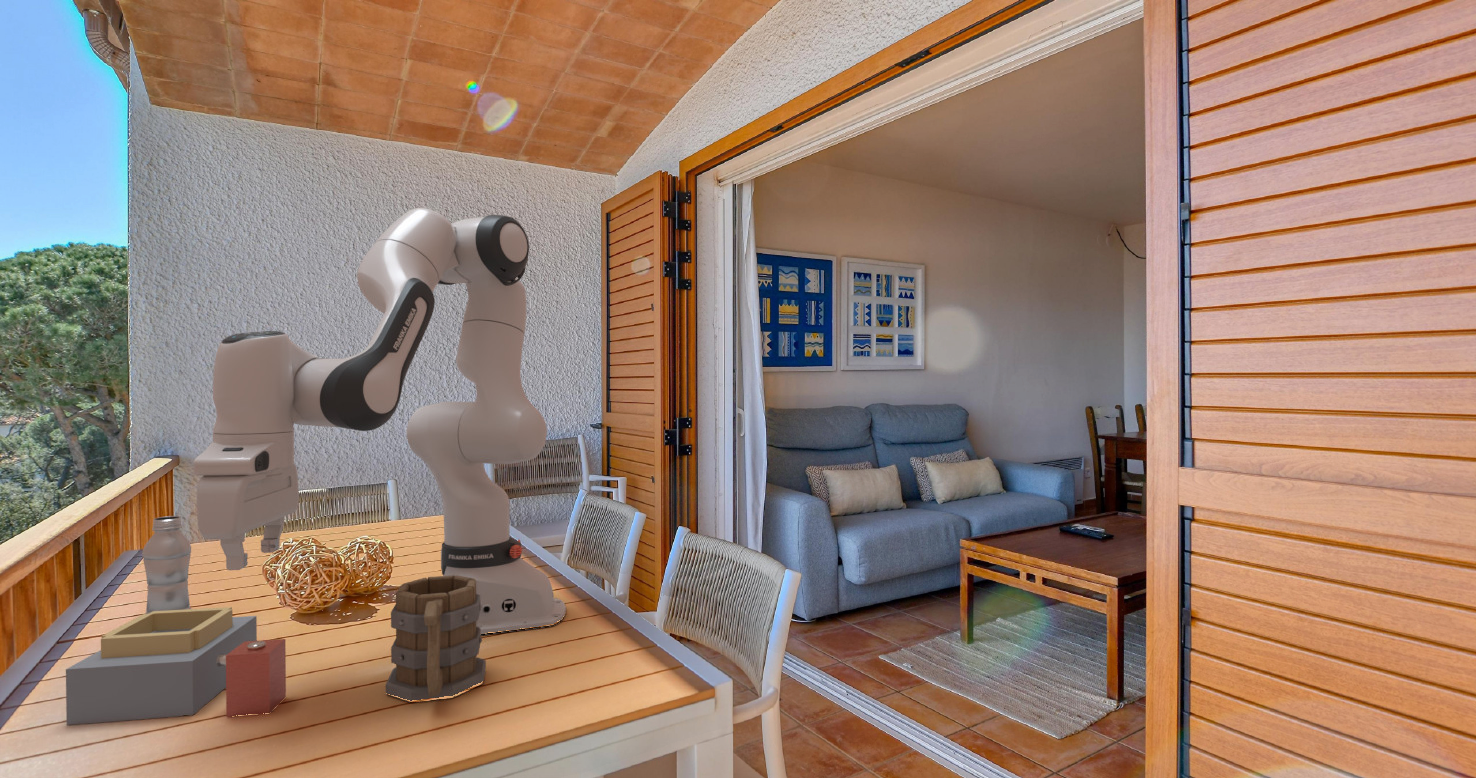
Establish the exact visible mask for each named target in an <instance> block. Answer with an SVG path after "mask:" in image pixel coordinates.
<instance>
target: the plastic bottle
mask: <svg viewBox="0 0 1476 778" xmlns="http://www.w3.org/2000/svg"><path fill="white" fill-rule="evenodd" d="M182 527H183V526H182V518H181V516H179V515H174V516H173V515H168V516H162V517H161V516H160V517H155V518H153V521H152V528H151V530H152V532H154V533H153V535H151V537H150V538H149V539H148V540H147V542H146V544H145V545H144V546H143V550H142V552H141V554H142V559H143V565H144V570H145V575H146V585H147V587H146V588H147V596H146V609H145V611H146V612H145V613H144V614H149V613H151V612H153V611H167V610H185V609H192V607H191V604H190V596H189V588H188V587H189V586H188V585H189V568H190V561H191V556H192V554H191V553H192V545H191V543H190V540H188V538H187V537H186V536H185V535H184V534H183V533H182V532H181V531H180V529H182Z"/></svg>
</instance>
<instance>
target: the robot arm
mask: <svg viewBox="0 0 1476 778" xmlns="http://www.w3.org/2000/svg"><path fill="white" fill-rule="evenodd" d="M529 253H530V243H529V238H528V236H527V233H526V231H525V230H524V227H522V225H521V224H520V222H519V221H518V220H516V218H514V217H511V216H507V215H502V214H489V215H486V216H480V217H479V216H478V217H470V218H468V217H467V218H464V219H460V220H457V221H453V222H450V221H449V220H448V219H447V218H446V216H444V215H442V214H441V213H440V212H438V211H436V210H433V209H431V208H426V207H416V208H412V209H410V210H408V211H406V212H405V213H404V214H402V215H401V216H399V218H398V219H396V220H395V221H394V222H392V223H391V225H389V226H388V227H387V228H386V230H384V231H383V233H382V234H381V235H380V236H379V237H378V238H377V240H376V241H374V244H373V245H372V246H371V247H370V248H369V250H368V251H367V252H366V253H365V255H364V257H363V258H362V260H361V261H360V264H359V267H358V269H357V273H356V278H357V283H358V287H359V289H360V292H361V293H362V295H363V296H364V297H365V299H366V301H368V302H369V303H370V304H371V305H372V306H373V307H374V308H376V309H377V310H378V311H379V312H381V313H382V314H383V316H382V317H381V319H380V322H379V323H378V326H377V327H376V329H375V331H374V333H373V336H372V338H371V339H370V341H369V343H368V345H367V347H366V348H364V349H363V350H362V351H360V352H358V353H357V354H354V355H351V356H348V357H343V358H339V357H338V358H334V357H333V358H324V357H323V358H322V357H319V356H318V355H316V354H313V353H311V352H309V351H306V350H305V349H303V348H302V347H300V346H298V345H297V344H296V343H294V341H292V340H291V339H290V338H289V336H288V334H287V333H285V332H283V331H278V330H263V331H251V332H250V331H249V332H241V333H233V334H231V335H228V336H227V337H225V338H224V339H222V340H221V342H219V345H218V347H217V351H216V354H215V358H214V367H213V381H212V382H213V383H212V384H213V385H212V400H213V403H214V406H215V410H216V420H215V424H214V426H213V429H212V430H213V431H212V442H211V443H210V444H209V445H208V447H207V448H206V449H205V450H203V452H201V453H200V454H199V455H197V457H195V458H194V460H193V466H192V467H193V474H194V476H197V477H199V476H200V477H201V476H202V477H201V478H200V479H199V480H198V483H197V487H196V518H197V527H198V531H199V533H200V535H201V537H202V538H203V540H220V546H221V549H222V551H223V554H224V556H225V558H226V559H225V562H226V563H225V566H226V567H225V568H226V570H228V571H240V570H242V569H244V568H246V567H247V566H248V563H249V562H248V559H249V558H248V555H249V554H248V552H245V547H244V543H243V542H245V541H246V540H245V538H246V537H245V536H246V535H245V534H246V533H250V532H251V531H253V530H256V529H258V528H260V527H263V526H264V530H263V538H262V539H260V552H261V553H262V554H267V553H270V554H271V553H274V552H276V551H278V550H280V545H281V544H280V543H281V541H280V539H281V535H282V532H283V529H284V525H285V517H287V516H289V515H291V514H294V513H296V512H297V510H298V507H299V504H300V499H299V498H300V493H299V479H298V470H297V466H296V464H295V443H294V442H295V441H294V440H295V434H294V433H295V428H294V424H295V425H298V426H299V425H301V426H313V427H314V426H315V427H323V428H324V427H325V428H327V427H328V428H341V429H348V430H351V431H352V430H354V431H359V432H368V431H373V430H376V429H379V428H380V427H382V426H384V425H385V424H386V423H387V422H389V420H390V419H391V418H392V416H393V415H394V414H395V412H396V411H397V408H398V406H399V403H400V400H401V396H402V390H403V386H404V383H405V379H406V376H407V374H408V371H409V368H410V367H411V365H412V362H413V360H414V357H415V356H416V354H417V351H418V348H419V346H420V344H421V342H422V340H423V337H424V335H425V333H426V331H427V328H428V327H429V324H430V322H431V319H432V317H433V313H434V309H435V305H436V304H435V301H436V300H435V295H434V293H433V292H434V290H435V289H436V287H437V286H438V285H442V286H443V285H445V286H446V285H447V286H451V285H455V284H465V286H466V287H465V288H466V289H467V296H468V301H467V304H466V308H465V311H464V315H463V320H462V323H461V331H460V337H459V342H458V348H457V353H456V360H455V363H456V365H457V369H458V370H459V371H460V373H461V375H462V376H464V377H465V378H466V379H467V380H469V381H470V382H472V383H474V385H475V389H476V391H475V392H476V397H475V401H440V402H436V403H432V404H428V405H423V406H420V407H419V408H417V409H416V410H414V412H413V413H412V415H411V416H410V418H409V421H408V423H407V428H406V439H407V442H408V446H409V447H410V449H411V451H412V452H413V454H414V455H416V456H417V457H419V458H420V459H421V460H422V461H423V462H424V463H425V464H426V466H427V467H428V468H429V470H430V472H431V473H432V476H433V477H434V479H435V482H436V483H437V486H438V489H439V493H440V495H441V502H442V512H443V529H444V530H443V536H444V537H443V539H444V541H443V542H442V543H441V549H440V568H441V574H442V576H451V575H455V576H456V575H458V576H463V577H468V578H473V579H475V580H476V594H479V595H480V600H481V606H482V609H481V610H480V614H479V619H478V620H477V621H476V627H479V628H481V634H485V633H488V632H498V631H506V630H516V629H520V628H521V629H522V628H530V627H539V626H543V625H549V624H554V623H556V622H557V621H559V620H561V619H562V618H563V616H564V615H565V612H566V613H567V610H566V603H565V602H564V601H563V600H562V599H559V598H556V597H555V596H554V591H553V586H552V583H551V580H550V579H549V577H548V575H546V574H545V572H542V570H539V569H538V568H536V567H535V566H533V565H532V564H530V563H529V562H528V561H526V560H525V559H523V558H522V553H523V548H522V543H521V540H520V539H518V540H517V539H515V538H513V537H511V536H510V499H509V495H508V493H507V492H506V491H505V490H504V489H503V488H502V487H501V486H499V485H498V484H496V483H495V482H494V481H493V480H491V478H490V476H489V475H488V474H487V471H486V469H485V465H484V464H486V465H487V464H490V465H491V464H493V465H511V464H517V463H521V462H522V463H523V462H527V461H528V462H529V461H531V460H532V461H533V460H535V458H537V457H538V456H539V454H541V452H542V451H543V449H544V446H545V445H546V441H547V435H548V434H547V432H548V430H547V424H546V420H545V418H544V416H543V415H542V413H541V412H540V411H539V410H538V408H536V407H535V406H534V405H533V404H532V403H531V402H530V400H529V398H528V396H527V395H526V392H525V390H524V388H523V384H522V380H521V379H522V378H521V365H522V363H521V362H522V353H523V345H524V339H525V331H526V322H527V321H526V320H527V297H526V296H527V295H526V288H525V286H524V285H523V283H522V282H521V281H520V280H521V279H522V278H523V276H524V275H525V272H526V266H527V264H528V261H529ZM565 616H566V615H565ZM485 635H486V634H485Z"/></svg>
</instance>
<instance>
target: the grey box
mask: <svg viewBox="0 0 1476 778" xmlns="http://www.w3.org/2000/svg"><path fill="white" fill-rule="evenodd" d="M257 625H258V623H257V615H250V616H249V615H247V616H233V607H232V606H228V607H227V606H226V607H225V606H223V607H209V608H208V607H206V608H191V609H185V610H167V611H153V612H151V613H149V614H145V613H143V614H141V615H139V616H137V617H135V618H133V619H131V620H130V621H127V622H125V623H123V624H122V625H120V626H118V627H116V628H114V629H113V630H110V631H108V632H107V633H104V634H103V635H101V639H100V650H98V651H97V652H95V653H93V654H91V655H89V656H87V657H85V658H83V659H82V660H80V661H79V662H76V663H74V664H72V665H71V666H69V667H67V668H66V669H65V696H66V698H65V702H66V704H65V705H66V707H65V709H66V710H65V711H66V726H71V725H72V726H74V725H75V726H76V725H85V724H98V723H99V724H100V723H111V722H113V723H114V722H123V721H136V720H151V719H160V718H161V719H162V718H174V717H176V718H177V717H184V716H183V715H189V716H194V715H196V713H197V712H199V711H200V710H201V709H202V708H203V707H205V706H206V705H207V704H208V703H209V702H210V700H211V701H212V700H213V699H214V698H216V697H217V695H219V694H220V693H221V692H223V691H224V690H226V666H219V667H218V666H217V664H216V662H217V658H218V656H219V655H227V654H228V653H230V652H231V651H232V650H234V649H235V648H236V647H238V646H239V645H240V644H242V643H243V642H245V641H258V639H257V638H258V636H257V635H258V634H257V633H258V632H257V631H258V630H257V629H258V628H257ZM205 704H206V705H205ZM199 709H200V710H199ZM198 710H199V711H198ZM193 714H194V715H193ZM150 718H151V719H150Z"/></svg>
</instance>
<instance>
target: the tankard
mask: <svg viewBox="0 0 1476 778" xmlns="http://www.w3.org/2000/svg"><path fill="white" fill-rule="evenodd" d="M481 609H482V606H481V600H480V595H479V594H476V580H475V579H473V578H468V577H463V576H458V575H456V576H455V575H451V576H443V575H438V576H428V577H422V578H419V579H416V580H412V581H408V582H404V583H402V584H401V585H400V586H399V588H398V590H397V591H396V592H395V605H394V606H393V608H392V609H391V611H390V627H391V628H392V629H394V630H395V640H394V641H393V642H392V646H391V648H390V653H391V654H390V656H391V658H390V659H391V661H390V662H391V664H394V665H395V667H394V668H393V669H392V670H391V673H390V674H389V676H388V679H387V681H386V683H385V694H386V693H387V694H390V695H394V696H398V697H400V698H403V699H407V700H410V701H412V700H421V699H429V698H439V697H444V696H453V695H455V694H458V693H459V692H462V691H464V690H465V689H468V688H470V687H472V686H473V685H476V684H478V683H481V682H482V681H484V682H485V677H484V675H485V676H486V671H485V669H486V668H487V665H486V664H487V660H485V659H484V658H481V657H478V655H479V653H480V647H481V643H482V642H483V638H482V635H481V628H479V627H476V621H477V620H478V619H479V614H480V610H481ZM486 670H487V669H486ZM387 694H386V695H387Z"/></svg>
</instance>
